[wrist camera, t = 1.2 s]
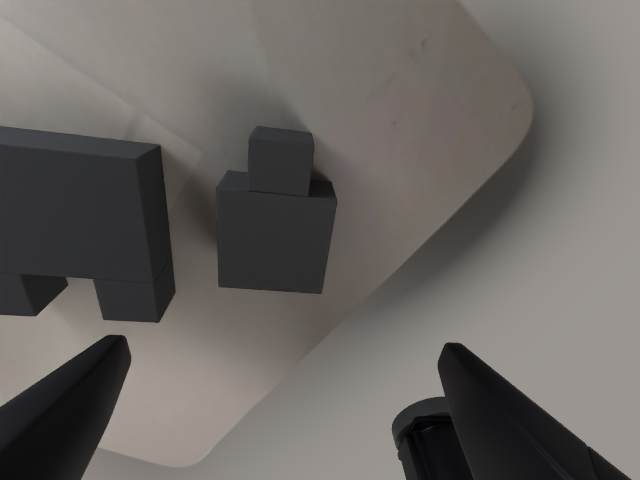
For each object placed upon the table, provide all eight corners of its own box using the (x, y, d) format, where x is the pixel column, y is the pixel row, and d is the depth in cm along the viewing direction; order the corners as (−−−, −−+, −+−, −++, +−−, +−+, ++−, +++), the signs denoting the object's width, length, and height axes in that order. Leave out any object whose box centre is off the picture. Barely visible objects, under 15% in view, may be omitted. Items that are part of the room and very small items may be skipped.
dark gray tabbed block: (339, 136, 17) (346, 148, 15) (318, 266, 21) (321, 294, 19) (227, 122, 17) (214, 131, 14) (228, 259, 21) (218, 287, 18)
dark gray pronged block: (160, 144, 17) (135, 158, 14) (176, 292, 22) (159, 323, 19) (-50, 120, 16) (-119, 130, 13) (15, 282, 20) (-27, 314, 18)
